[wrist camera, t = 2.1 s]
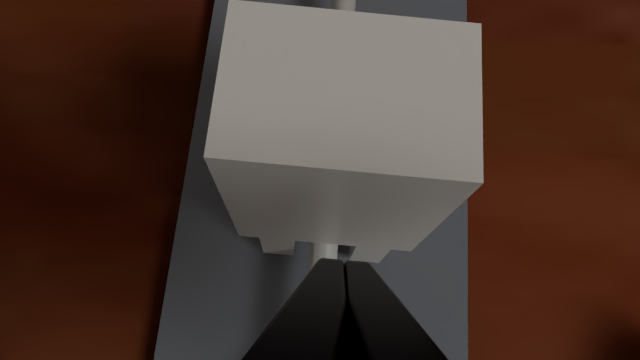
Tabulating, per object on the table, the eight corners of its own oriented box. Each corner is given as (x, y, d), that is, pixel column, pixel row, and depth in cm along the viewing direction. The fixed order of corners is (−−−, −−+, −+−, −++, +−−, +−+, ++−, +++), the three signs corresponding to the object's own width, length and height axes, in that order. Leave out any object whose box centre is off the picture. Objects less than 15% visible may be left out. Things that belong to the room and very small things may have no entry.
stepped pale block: (396, 264, 22) (483, 183, 12) (245, 251, 22) (203, 157, 12) (400, 170, 23) (481, 23, 13) (257, 157, 23) (228, -1, 13)
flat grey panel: (460, 488, 21) (510, 528, 16) (142, 462, 20) (96, 493, 16) (460, -64, 29) (493, -148, 24) (234, -87, 29) (222, -176, 24)
